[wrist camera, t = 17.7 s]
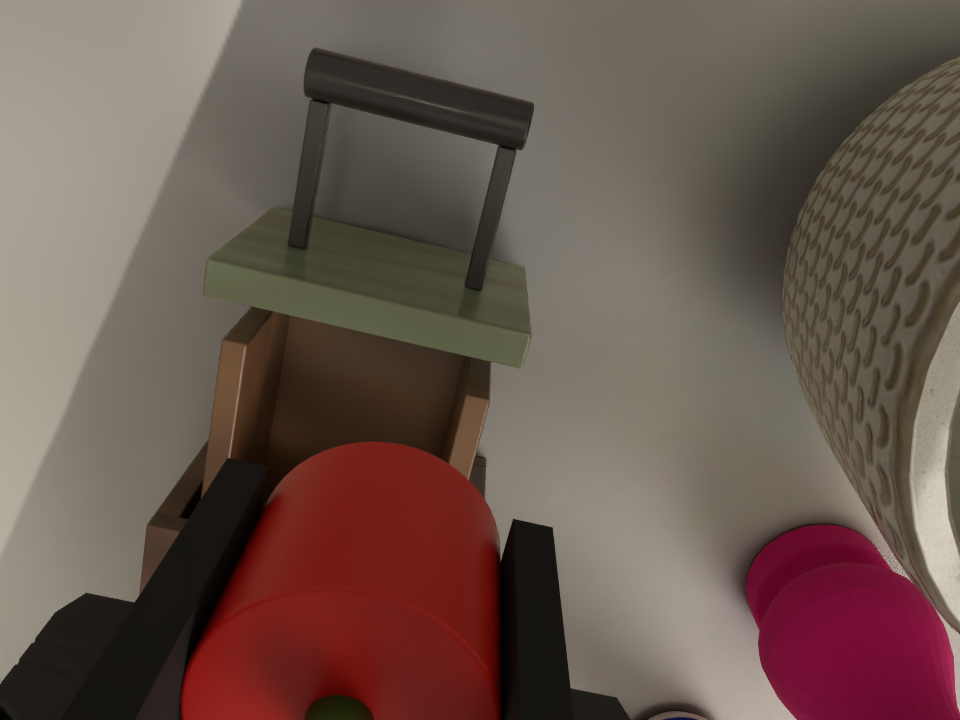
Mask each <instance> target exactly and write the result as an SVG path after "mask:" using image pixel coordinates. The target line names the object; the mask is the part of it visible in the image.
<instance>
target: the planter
mask: <svg viewBox="0 0 960 720" xmlns="http://www.w3.org/2000/svg"><path fill="white" fill-rule="evenodd" d="M783 318H784V325H785V331H786V338H787V345H788V349H789V352H790V356H791V359H792V362H793V365H794V368H795V371H796V374H797V377H798V379H799V382H800V385H801V388H802V391H803V393H804V396H805V398H806V401H807V403H808V405H809V407H810V409H811V411H812V413H813V415H814V417H815V419H816V421H817V423H818V425H819V427H820V429H821V431H822V433H823V435H824V437H825V439H826V441H827V443H828V444H829V446H830V448H831V450H832V452H833V453H834V455H835V457H836V459H837V460H838V462H839V464H840V466H841V467H842V469H843V471H844V473H845V475H846V476H847V478H848V479H849V481H850V483H851V484H852V486H853V488H854V489H855V491H856V493H857V494H858V496H859V497H860V499H861V501H862V502H863V504H864V506H865V507H866V509H867V511H868V512H869V514H870V516H871V517H872V519H873V520H874V522H875V524H876V525H877V527H878V529H879V530H880V532H881V534H882V536H883V537H884V539H885V541H886V542H887V544H888V546H889V547H890V549H891V551H892V552H893V554H894V556H895V557H896V559H897V560H898V561H899V563H900V564H901V566H902V567H903V569H904V570H905V572H906V573H907V575H908V576H909V578H910V579H911V581H912V582H913V583H914V585H915V586H916V587H917V588H918V589H919V590H920V592H921V593H922V594H923V595H924V596H925V597H926V599H927V600H928V601H929V602H930V603H931V604H932V606H933V607H934V608H935V609H936V610H937V611H938V613H939V614H940V615H941V616H942V617H943V618H944V619H945V620H946V622H947V623H948V624H949V625H950V626H951V627H952V628H953V629H954V630H956V631H957V632H958V633H959V634H960V56H959V57H957V58H955V59H953V60H950V61H948V62H946V63H944V64H942V65H940V66H938V67H937V68H935V69H933V70H932V71H930V72H928V73H927V74H925V75H923V76H922V77H920V78H918V79H917V80H915V81H913V82H912V83H910V84H908V85H907V86H905V87H904V88H902V89H900V90H899V91H898V92H897V93H895V94H894V95H893V96H892V97H890V98H889V99H888V100H887V101H885V102H884V103H883V104H882V105H880V106H879V107H878V108H877V109H875V110H874V111H873V112H872V113H870V114H869V115H868V116H867V117H866V118H865V119H864V120H863V121H862V123H861V124H860V125H859V126H858V127H857V128H856V129H855V130H854V131H853V132H852V133H851V134H850V135H849V136H848V137H847V138H846V139H845V140H844V142H843V143H842V144H841V145H840V146H839V148H838V149H837V151H836V152H835V153H834V155H833V156H832V157H831V159H830V160H829V162H828V163H827V164H826V166H825V167H824V169H823V170H822V171H821V173H820V174H819V176H818V177H817V179H816V181H815V183H814V185H813V187H812V189H811V191H810V193H809V195H808V197H807V198H806V200H805V202H804V204H803V206H802V208H801V211H800V213H799V216H798V219H797V222H796V225H795V228H794V230H793V233H792V236H791V239H790V242H789V247H788V253H787V258H786V263H785V269H784V274H783Z"/></svg>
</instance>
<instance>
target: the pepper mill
mask: <svg viewBox="0 0 960 720" xmlns="http://www.w3.org/2000/svg"><path fill="white" fill-rule="evenodd" d="M746 598H747V602H748V605H749V607H750V610H751V612H752V614H753V617H754V619H755V621H756V624H757V626H758V628H759V630H760V632H759V640H758V646H759V656H760V661H761V665H762V668H763V670H764V672H765V674H766V676H767V678H768V680H769V682H770V684H771V685H772V687H773V689H774V691H775V693H776V695H777V696H778V698H779V699H780V700H781V702H782V703H783V704H784V706H785V707H786V708H787V709H788V710H789V711H790V712H791V714H792V715H793V716H794V717H795V718H796V719H797V720H960V713H959V710H958V707H957V702H956V694H955V676H954V657H953V653H952V649H951V646H950V642H949V639H948V635H947V632H946V630H945V627H944V624H943V622H942V621H941V619H940V617H939V616H938V614H937V612H936V611H935V609H934V607H933V606H932V604H931V603H930V602H929V601H928V600H927V599H926V597H925V596H924V595H923V594H922V593H921V592H920V590H919V589H918V588H917V587H916V586H915V585H914V584H913V583H912V582H911V581H909V580H908V579H907V578H905V577H903V576H901V575H899V574H897V573H895V572H893V571H892V570H891V568H890V567H889V565H888V564H887V563H886V561H885V560H884V558H883V557H882V556H881V554H880V553H879V552H878V550H877V549H876V547H875V546H874V545H873V544H872V543H871V542H870V541H869V540H868V539H867V538H865V537H864V536H862V535H861V534H859V533H858V532H855V531H853V530H851V529H848V528H844V527H841V526H835V525H811V526H805V527H802V528H798V529H795V530H792V531H789V532H786V533H784V534H783V535H781V536H780V537H778V538H777V539H775V540H774V541H772V542H770V543H769V544H767V545H766V546H765V547H764V548H763V550H762V551H761V552H760V553H759V554H758V556H757V557H756V558H755V560H754V561H753V563H752V565H751V567H750V569H749V572H748V575H747V579H746Z"/></svg>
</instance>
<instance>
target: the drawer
mask: <svg viewBox="0 0 960 720" xmlns="http://www.w3.org/2000/svg"><path fill="white" fill-rule="evenodd" d="M304 94H305V96H306V97H308V98H311V99H312V100H310V104H309V110H308V117H307V123H306V129H305V136H304V142H303V148H302V155H301V161H300V167H299V174H298V180H297V186H296V193H295V199H294V205H293V211H288V210H284V209H280V208H276V207H274V208H272V209H271V210H269V211H268V212H267V213H266V214H264V215H263V216H262V217H260V218H259V219H258V220H256V221H255V222H254V223H253V224H251V225H250V226H249V227H247V228H246V229H245V230H243V231H242V232H241V233H240V234H238V235H237V236H236V237H234V238H233V239H232V240H231V241H229V242H228V243H227V244H225V245H224V246H223V247H221V248H220V249H219V250H218V251H216V252H215V253H214V254H212V255H211V256H210V257H209V258H208V259H207V261H206V269H205V277H204V285H203V295H205V296H209V297H214V298H218V299H222V300H226V301H231V302H235V303H239V304H244V305H248V306H252V307H251V308H250V309H249V311H248V312H247V313H246V314H245V315H244V316H243V317H242V318H241V319H240V320H239V322H238V323H237V324H236V325H235V326H234V327H233V328H232V329H231V330H230V332H229V333H228V334H227V335H226V336H225V337H224V338H223V339H222V343H221V351H220V358H219V366H218V373H217V381H216V388H215V396H214V403H213V411H212V418H211V426H210V433H209V441H208V448H207V456H206V463H205V471H204V478H203V486H202V493H201V498H202V497H203V495H204V494H205V492H206V490H207V489H208V487H209V486H210V484H211V483H212V481H213V480H214V478H215V476H216V475H217V473H218V472H219V470H220V469H221V467H222V465H223V464H224V462H225V461H226V459H227V458H231V459H235V460H240V461H245V462H249V463H254V464H259V465H263V466H268V473H267V480H266V486H265V492H264V498H263V504H262V510H261V513H262V511H263V509H264V507H265V505H266V503H267V501H268V499H269V497H270V496H271V494H272V493H273V491H274V489H275V488H276V486H277V485H278V484H279V483H280V482H281V480H282V479H283V478H284V477H285V476H286V475H287V474H288V473H289V472H290V471H292V470H293V469H294V468H295V467H296V466H298V465H299V464H301V463H302V462H304V461H305V460H307V459H308V458H310V457H312V456H314V455H316V454H318V453H320V452H322V451H325V450H328V449H331V448H334V447H337V446H341V445H346V444H351V443H359V442H389V443H395V444H401V445H406V446H409V447H413V448H417V449H420V450H422V451H425V452H427V453H429V454H432V455H434V456H436V457H438V458H440V459H441V460H443V461H445V462H447V463H448V464H450V465H451V466H452V467H454V468H455V469H457V470H458V471H459V472H461V473H462V474H463V475H464V476H465V477H466V478H467V479H468V480H469V477H470V474H471V470H472V466H473V462H474V459H475V455H476V451H477V448H478V444H479V440H480V436H481V433H482V429H483V425H484V421H485V418H486V414H487V410H488V406H489V403H490V381H491V362H494V363H499V364H503V365H507V366H512V367H516V368H522V367H523V366H524V362H525V358H526V355H527V351H528V348H529V344H530V340H531V337H532V334H531V324H530V314H529V304H528V294H527V284H526V274H525V268H524V267H522V266H518V265H514V264H510V263H506V262H501V261H497V260H493V259H490V256H491V252H492V248H493V244H494V240H495V236H496V232H497V228H498V224H499V220H500V216H501V212H502V208H503V204H504V200H505V196H506V192H507V188H508V184H509V180H510V176H511V172H512V168H513V164H514V160H515V156H516V149H517V150H523V148H524V147H525V144H526V140H527V137H528V133H529V129H530V125H531V121H532V117H533V112H534V103H532V102H529V101H525V100H521V99H517V98H513V97H509V96H505V95H501V94H497V93H494V92H490V91H486V90H482V89H478V88H474V87H470V86H466V85H462V84H458V83H454V82H450V81H446V80H442V79H438V78H434V77H430V76H426V75H422V74H418V73H414V72H410V71H406V70H402V69H398V68H395V67H391V66H387V65H383V64H379V63H375V62H371V61H367V60H363V59H359V58H355V57H351V56H347V55H343V54H339V53H335V52H331V51H327V50H323V49H319V48H313V49H312V51H311V52H310V54H309V57H308V60H307V64H306V68H305V74H304ZM332 104H336V105H340V106H344V107H348V108H352V109H356V110H360V111H364V112H368V113H372V114H376V115H380V116H384V117H388V118H392V119H396V120H400V121H404V122H408V123H412V124H416V125H420V126H424V127H428V128H432V129H436V130H440V131H444V132H448V133H452V134H456V135H460V136H464V137H468V138H472V139H476V140H480V141H484V142H488V143H492V144H496V145H498V148H497V152H496V156H495V160H494V164H493V168H492V172H491V177H490V181H489V185H488V189H487V193H486V197H485V201H484V206H483V210H482V214H481V218H480V222H479V226H478V230H477V235H476V239H475V243H474V247H473V251H472V254H468V253H464V252H460V251H455V250H451V249H447V248H443V247H439V246H435V245H430V244H426V243H422V242H418V241H414V240H410V239H405V238H401V237H397V236H393V235H389V234H384V233H380V232H376V231H372V230H368V229H364V228H359V227H355V226H351V225H347V224H343V223H339V222H334V221H330V220H326V219H322V218H318V217H313V214H314V208H315V202H316V196H317V190H318V184H319V178H320V172H321V166H322V160H323V154H324V148H325V142H326V136H327V130H328V124H329V118H330V112H331V106H332Z"/></svg>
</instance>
